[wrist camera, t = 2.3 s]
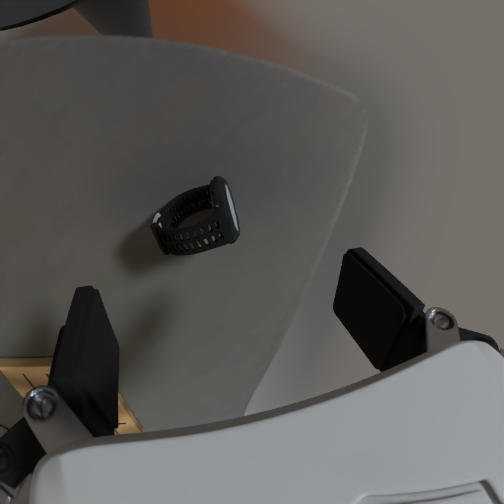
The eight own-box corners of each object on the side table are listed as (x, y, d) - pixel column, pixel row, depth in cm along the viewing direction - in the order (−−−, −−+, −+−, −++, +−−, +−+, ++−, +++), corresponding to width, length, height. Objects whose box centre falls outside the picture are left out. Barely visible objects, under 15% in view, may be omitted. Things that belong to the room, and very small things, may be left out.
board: (0, 358, 19) (-3, 367, 18) (98, 353, 22) (97, 364, 21) (64, 431, 27) (63, 439, 26) (143, 429, 30) (144, 437, 29)
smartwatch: (228, 225, 20) (248, 266, 16) (151, 226, 18) (151, 269, 14) (235, 166, 18) (260, 192, 14) (152, 164, 16) (149, 190, 12)
